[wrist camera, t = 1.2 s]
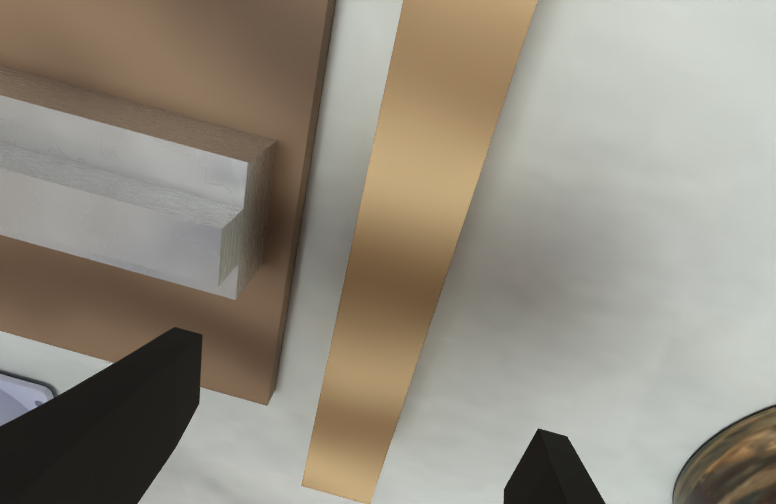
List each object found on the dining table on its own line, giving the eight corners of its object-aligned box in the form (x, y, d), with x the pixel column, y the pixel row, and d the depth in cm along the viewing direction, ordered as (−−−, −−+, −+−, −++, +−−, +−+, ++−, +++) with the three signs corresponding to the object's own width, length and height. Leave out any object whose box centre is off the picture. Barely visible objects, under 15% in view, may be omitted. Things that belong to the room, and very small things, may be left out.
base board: (274, 390, 23) (267, 405, 22) (16, 317, 23) (-1, 330, 22) (354, -118, 13) (346, -126, 13) (-89, -234, 14) (-127, -250, 13)
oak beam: (384, 430, 24) (369, 504, 20) (325, 413, 24) (301, 485, 20) (555, -111, 13) (587, -150, 10) (448, -137, 13) (442, -186, 10)
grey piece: (262, 264, 19) (215, 326, 15) (-9, 189, 19) (-118, 233, 15) (277, 140, 16) (225, 179, 13) (-35, 55, 16) (-171, 71, 13)
